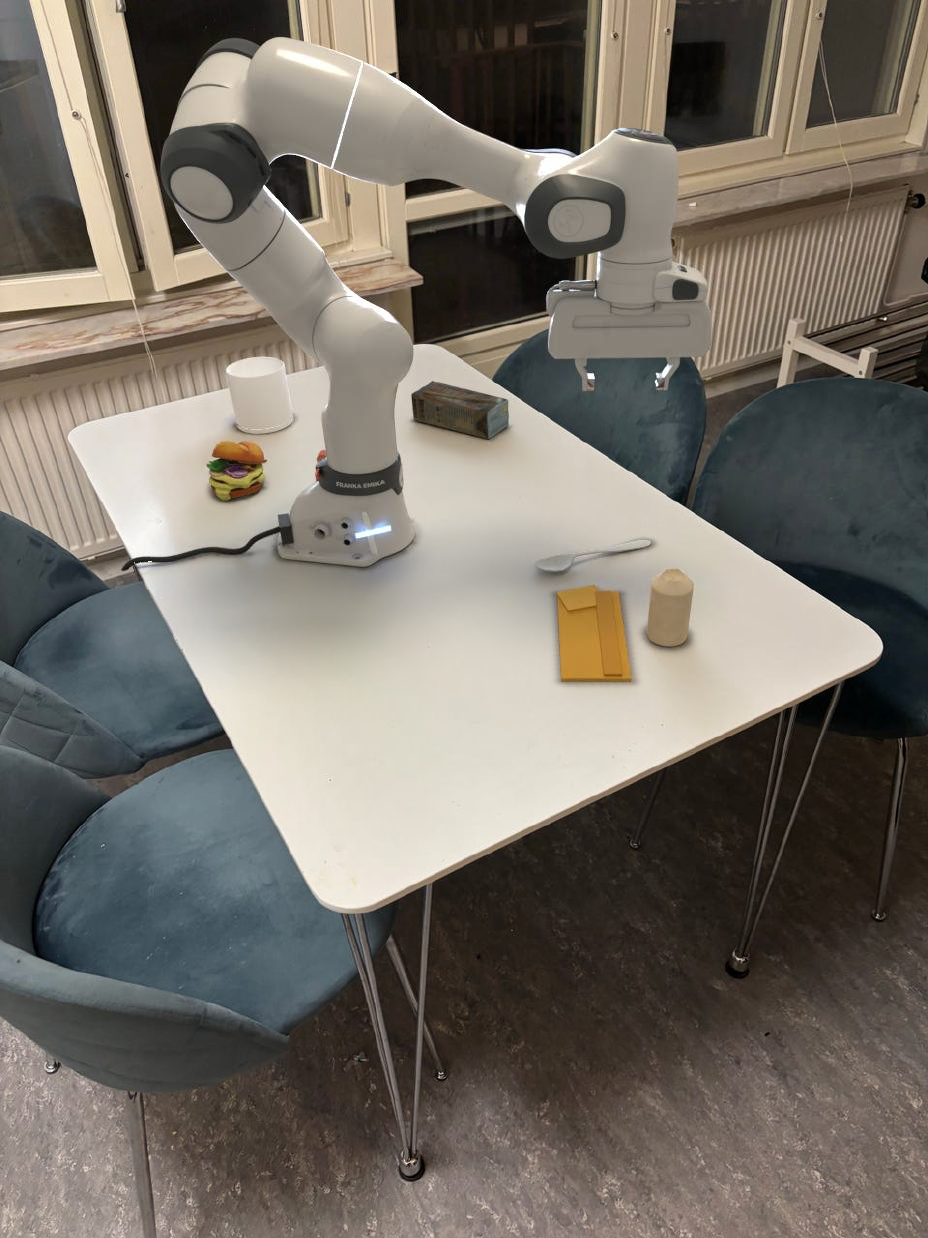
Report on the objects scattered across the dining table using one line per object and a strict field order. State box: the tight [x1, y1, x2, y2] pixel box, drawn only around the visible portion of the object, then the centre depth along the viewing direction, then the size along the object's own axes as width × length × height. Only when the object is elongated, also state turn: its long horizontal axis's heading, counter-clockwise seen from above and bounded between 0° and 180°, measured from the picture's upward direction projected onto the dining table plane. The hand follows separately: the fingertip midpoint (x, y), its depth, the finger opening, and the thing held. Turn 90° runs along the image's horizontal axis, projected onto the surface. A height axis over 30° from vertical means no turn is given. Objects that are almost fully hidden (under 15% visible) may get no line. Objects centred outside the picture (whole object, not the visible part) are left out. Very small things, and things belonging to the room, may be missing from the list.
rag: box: [556, 584, 632, 682], centre depth 126 cm, size 9×21×1 cm, turn 177°
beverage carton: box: [410, 380, 510, 440], centre depth 183 cm, size 8×19×7 cm, turn 55°
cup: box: [225, 356, 294, 435], centre depth 186 cm, size 12×12×12 cm
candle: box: [646, 568, 695, 648], centre depth 122 cm, size 6×6×10 cm
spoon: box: [533, 539, 652, 573], centre depth 141 cm, size 4×21×2 cm, turn 113°
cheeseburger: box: [206, 440, 268, 502], centre depth 164 cm, size 10×11×10 cm
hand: (624, 389), depth 118 cm, fingers open, 8 cm apart
